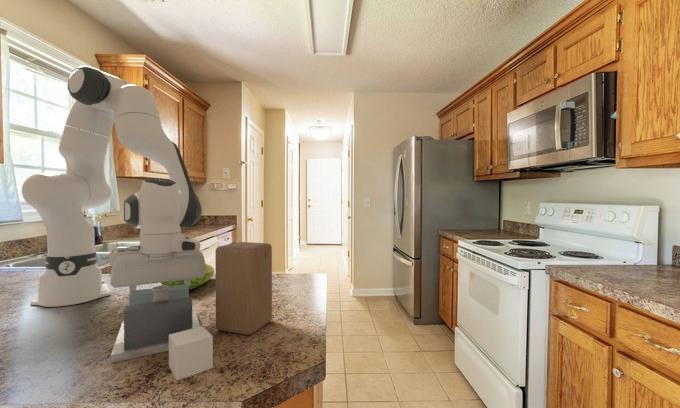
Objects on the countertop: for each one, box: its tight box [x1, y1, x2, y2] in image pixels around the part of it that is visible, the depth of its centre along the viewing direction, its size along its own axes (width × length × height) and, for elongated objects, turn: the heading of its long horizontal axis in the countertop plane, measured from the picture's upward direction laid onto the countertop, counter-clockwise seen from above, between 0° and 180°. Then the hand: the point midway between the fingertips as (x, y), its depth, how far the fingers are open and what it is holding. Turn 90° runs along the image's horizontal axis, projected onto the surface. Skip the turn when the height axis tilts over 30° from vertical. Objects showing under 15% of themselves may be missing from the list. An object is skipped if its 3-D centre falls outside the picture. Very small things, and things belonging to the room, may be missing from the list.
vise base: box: [110, 296, 201, 364], centre depth 70 cm, size 19×16×10 cm
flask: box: [150, 284, 169, 302], centre depth 68 cm, size 7×7×10 cm
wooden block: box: [215, 241, 273, 336], centre depth 75 cm, size 10×10×20 cm
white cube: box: [168, 325, 214, 381], centre depth 57 cm, size 6×6×6 cm
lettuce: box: [160, 262, 215, 291], centre depth 110 cm, size 12×24×13 cm
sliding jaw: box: [128, 284, 190, 305], centre depth 73 cm, size 4×12×8 cm, turn 120°
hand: (161, 299), depth 76 cm, fingers open, 8 cm apart
